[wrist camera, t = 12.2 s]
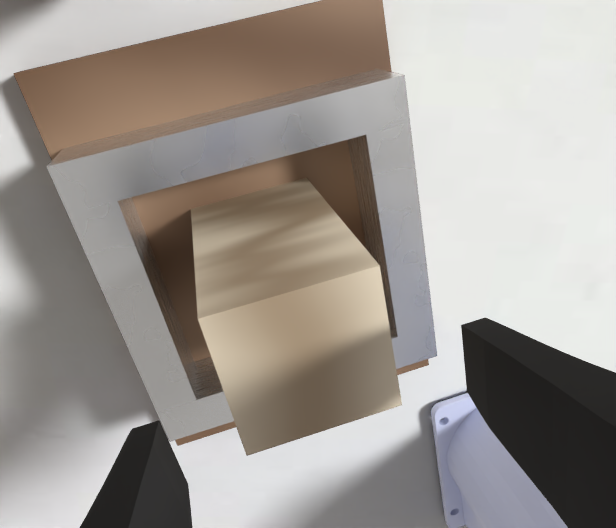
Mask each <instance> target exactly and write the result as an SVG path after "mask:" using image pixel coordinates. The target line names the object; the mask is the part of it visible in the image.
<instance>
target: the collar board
mask: <svg viewBox="0 0 616 528" xmlns="http://www.w3.org/2000/svg"><path fill="white" fill-rule="evenodd" d="M13 74H14V76H15V78H16V81H17V83H18V85H19V87H20V90H21V92H22V94H23V96H24V99H25V101H26V103H27V105H28V108H29V110H30V112H31V115H32V117H33V119H34V121H35V124H36V126H37V128H38V130H39V133H40V135H41V137H42V139H43V142H44V144H45V146H46V148H47V151H48V153H49V155H50V158H51V160H52V161H51V162H50V163H49V164H48V165H47V166H46V167H47V169H48V172H49V174H50V176H51V178H52V180H53V183H54V185H55V187H56V189H57V192H58V194H59V196H60V198H61V200H62V203H63V205H64V207H65V209H66V212H67V214H68V216H69V218H70V221H71V223H72V225H73V227H74V229H75V232H76V234H77V236H78V238H79V241H80V243H81V245H82V247H83V250H84V252H85V254H86V256H87V258H88V261H89V263H90V265H91V267H92V270H93V272H94V274H95V276H96V278H97V281H98V283H99V285H100V287H101V290H102V292H103V294H104V296H105V299H106V301H107V303H108V305H109V307H110V310H111V312H112V314H113V316H114V319H115V321H116V323H117V325H118V327H119V330H120V332H121V334H122V336H123V339H124V341H125V343H126V345H127V348H128V350H129V352H130V354H131V356H132V359H133V361H134V363H135V365H136V368H137V370H138V372H139V374H140V377H141V379H142V381H143V383H144V385H145V388H146V390H147V392H148V394H149V397H150V399H151V401H152V403H153V405H154V408H155V410H156V412H157V414H158V417H159V419H160V421H161V423H162V426H163V428H164V430H165V432H166V434H167V437H168V439H169V441H174V440H175V441H176V443H177V445H178V446H179V445H182V444H185V443H188V442H191V441H194V440H197V439H200V438H204V437H207V436H210V435H213V434H216V433H219V432H222V431H225V430H228V429H231V428H235V427H236V424H235V422H234V419H233V416H232V413H231V410H230V408H229V405H228V402H227V399H226V396H225V394H224V391H223V388H222V385H221V382H220V380H219V377H218V374H217V371H216V369H215V366H214V363H213V360H212V357H211V355H210V352H209V349H208V346H207V343H206V341H205V338H204V335H203V332H202V329H201V327H200V324H199V321H198V315H197V299H196V283H195V267H194V251H193V235H192V219H191V209H193V208H196V207H200V206H204V205H208V204H211V203H215V202H219V201H222V200H226V199H230V198H233V197H237V196H241V195H245V194H248V193H252V192H256V191H259V190H263V189H267V188H270V187H274V186H278V185H282V184H285V183H289V182H293V181H296V180H300V179H304V178H307V179H308V180H309V181H310V183H311V184H312V185H313V186H314V187H315V189H316V190H317V191H318V192H319V193H320V195H321V196H322V197H323V198H324V199H325V201H326V202H327V203H328V204H329V205H330V207H331V208H332V209H333V210H334V211H335V213H336V214H337V215H338V216H339V217H340V218H341V220H342V221H343V222H344V223H345V224H346V226H347V227H348V228H349V229H350V230H351V232H352V233H353V234H354V235H355V236H356V238H357V239H358V240H359V241H360V242H361V244H362V245H363V246H364V247H365V248H366V250H367V251H368V252H369V253H370V254H371V256H372V257H373V258H374V259H375V260H376V262H377V263H378V264H379V265H380V271H381V277H382V283H383V289H384V296H385V302H386V308H387V314H388V321H389V327H390V333H391V339H392V346H393V352H394V358H395V364H396V371H397V375H399V374H402V373H405V372H408V371H411V370H415V369H418V368H421V367H424V366H427V365H429V363H428V359H429V358H432V357H435V356H437V349H436V341H435V332H434V324H433V315H432V307H431V298H430V289H429V281H428V272H427V264H426V255H425V247H424V238H423V229H422V221H421V212H420V204H419V195H418V187H417V178H416V169H415V161H414V152H413V144H412V135H411V127H410V118H409V109H408V101H407V92H406V84H405V75H403V74H399V73H394V72H391V65H390V57H389V49H388V41H387V33H386V25H385V18H384V10H383V2H382V0H322V1H318V2H313V3H309V4H305V5H301V6H296V7H292V8H288V9H284V10H279V11H275V12H271V13H267V14H262V15H258V16H254V17H250V18H245V19H241V20H237V21H233V22H228V23H224V24H220V25H216V26H211V27H207V28H203V29H199V30H194V31H190V32H186V33H182V34H177V35H173V36H169V37H165V38H160V39H156V40H152V41H148V42H143V43H139V44H135V45H131V46H126V47H122V48H118V49H114V50H109V51H105V52H101V53H97V54H93V55H88V56H84V57H80V58H76V59H71V60H67V61H63V62H59V63H54V64H50V65H46V66H42V67H37V68H33V69H29V70H25V71H20V72H17V73H13Z"/></svg>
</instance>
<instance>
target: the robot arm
mask: <svg viewBox="0 0 616 528" xmlns="http://www.w3.org/2000/svg"><path fill="white" fill-rule="evenodd" d="M461 327H462V339H463V350H464V361H465V373H466V384H467V392H468V393H466V394H463V395H459V396H456V397H453V398H450V399H447V400H444V401H441V402H439V403H437V404H435V405H434V406H433V407H432V409H431V417H432V424H433V432H434V439H435V447H436V455H437V462H438V470H439V477H440V485H441V493H442V500H443V508H444V515H445V522H446V524H447V526H448V527H449V528H459V527H462V526H465V525H466V526H467V528H616V373H615V372H612V371H609V370H607V369H604V368H601V367H599V366H596V365H593V364H591V363H588V362H586V361H583V360H581V359H578V358H576V357H573V356H571V355H568V354H566V353H564V352H561V351H559V350H557V349H554V348H552V347H550V346H548V345H545V344H543V343H541V342H539V341H536V340H534V339H532V338H530V337H528V336H525V335H523V334H521V333H519V332H517V331H515V330H512V329H510V328H508V327H506V326H504V325H501V324H499V323H497V322H495V321H492V320H490V319H487V318H483V319H479V320H476V321H473V322H470V323H467V324H463V325H461ZM442 418H444V419H442ZM441 419H442V420H441ZM80 528H192V519H191V508H190V499H189V489H188V483H187V481H186V479H185V477H184V474H183V472H182V470H181V468H180V465H179V463H178V461H177V459H176V456H175V454H174V452H173V450H172V448H171V445H170V443H169V441H168V439H167V436H166V434H165V432H164V430H163V428H162V425H161V423H160V421H156V422H152V423H149V424H146V425H143V426H140V427H137V428H133V429H132V430H131V431H130V433H129V435H128V437H127V439H126V441H125V443H124V445H123V447H122V449H121V451H120V453H119V455H118V457H117V459H116V461H115V463H114V465H113V467H112V469H111V471H110V473H109V475H108V476H107V478H106V480H105V482H104V484H103V486H102V488H101V490H100V492H99V494H98V495H97V497H96V499H95V501H94V503H93V505H92V507H91V508H90V510H89V512H88V514H87V516H86V518H85V519H84V521H83V523H82V525H81V526H80Z"/></svg>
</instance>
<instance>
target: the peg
mask: <svg viewBox="0 0 616 528" xmlns="http://www.w3.org/2000/svg"><path fill="white" fill-rule="evenodd" d="M191 219H192V235H193V251H194V267H195V283H196V299H197V315H198V321H199V324H200V327H201V329H202V332H203V335H204V338H205V341H206V343H207V346H208V349H209V352H210V355H211V357H212V360H213V363H214V366H215V369H216V371H217V374H218V377H219V380H220V382H221V385H222V388H223V391H224V394H225V396H226V399H227V402H228V405H229V408H230V410H231V413H232V416H233V419H234V422H235V424H236V427H237V430H238V433H239V435H240V438H241V441H242V444H243V447H244V449H245V452H246V455H247V456H248V455H251V454H254V453H257V452H260V451H263V450H266V449H269V448H272V447H275V446H278V445H281V444H284V443H287V442H290V441H293V440H296V439H300V438H303V437H306V436H309V435H312V434H315V433H318V432H321V431H324V430H327V429H330V428H333V427H336V426H339V425H342V424H345V423H349V422H352V421H355V420H358V419H361V418H364V417H367V416H370V415H373V414H376V413H379V412H382V411H385V410H388V409H391V408H394V407H397V406H401V405H402V402H401V396H400V389H399V383H398V377H397V371H396V364H395V358H394V352H393V346H392V339H391V333H390V327H389V321H388V314H387V308H386V302H385V296H384V289H383V283H382V277H381V271H380V265H379V264H378V263H377V262H376V260H375V259H374V258H373V257H372V256H371V254H370V253H369V252H368V251H367V250H366V248H365V247H364V246H363V245H362V244H361V242H360V241H359V240H358V239H357V238H356V236H355V235H354V234H353V233H352V232H351V230H350V229H349V228H348V227H347V226H346V224H345V223H344V222H343V221H342V220H341V218H340V217H339V216H338V215H337V214H336V213H335V211H334V210H333V209H332V208H331V207H330V205H329V204H328V203H327V202H326V201H325V199H324V198H323V197H322V196H321V195H320V193H319V192H318V191H317V190H316V189H315V187H314V186H313V185H312V184H311V183H310V181H309V180H308V179H307V178H304V179H300V180H296V181H293V182H289V183H285V184H282V185H278V186H274V187H270V188H267V189H263V190H259V191H256V192H252V193H248V194H245V195H241V196H237V197H233V198H230V199H226V200H222V201H219V202H215V203H211V204H208V205H204V206H200V207H196V208H193V209H191Z"/></svg>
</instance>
